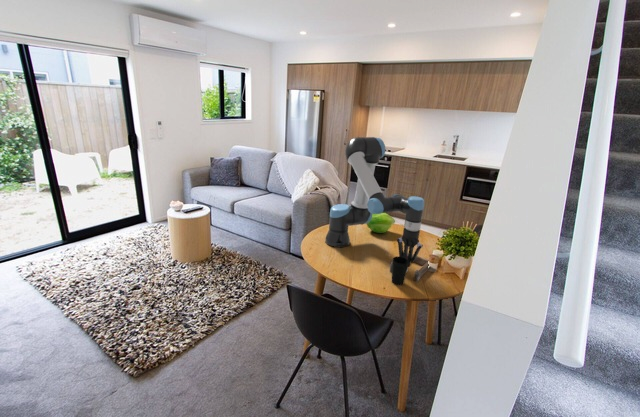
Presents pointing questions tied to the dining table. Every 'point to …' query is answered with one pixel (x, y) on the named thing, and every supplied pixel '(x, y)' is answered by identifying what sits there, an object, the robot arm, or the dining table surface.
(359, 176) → the robot arm
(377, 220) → the lettuce
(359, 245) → the dining table surface
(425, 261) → the grey u-shaped frame
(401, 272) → the cup
